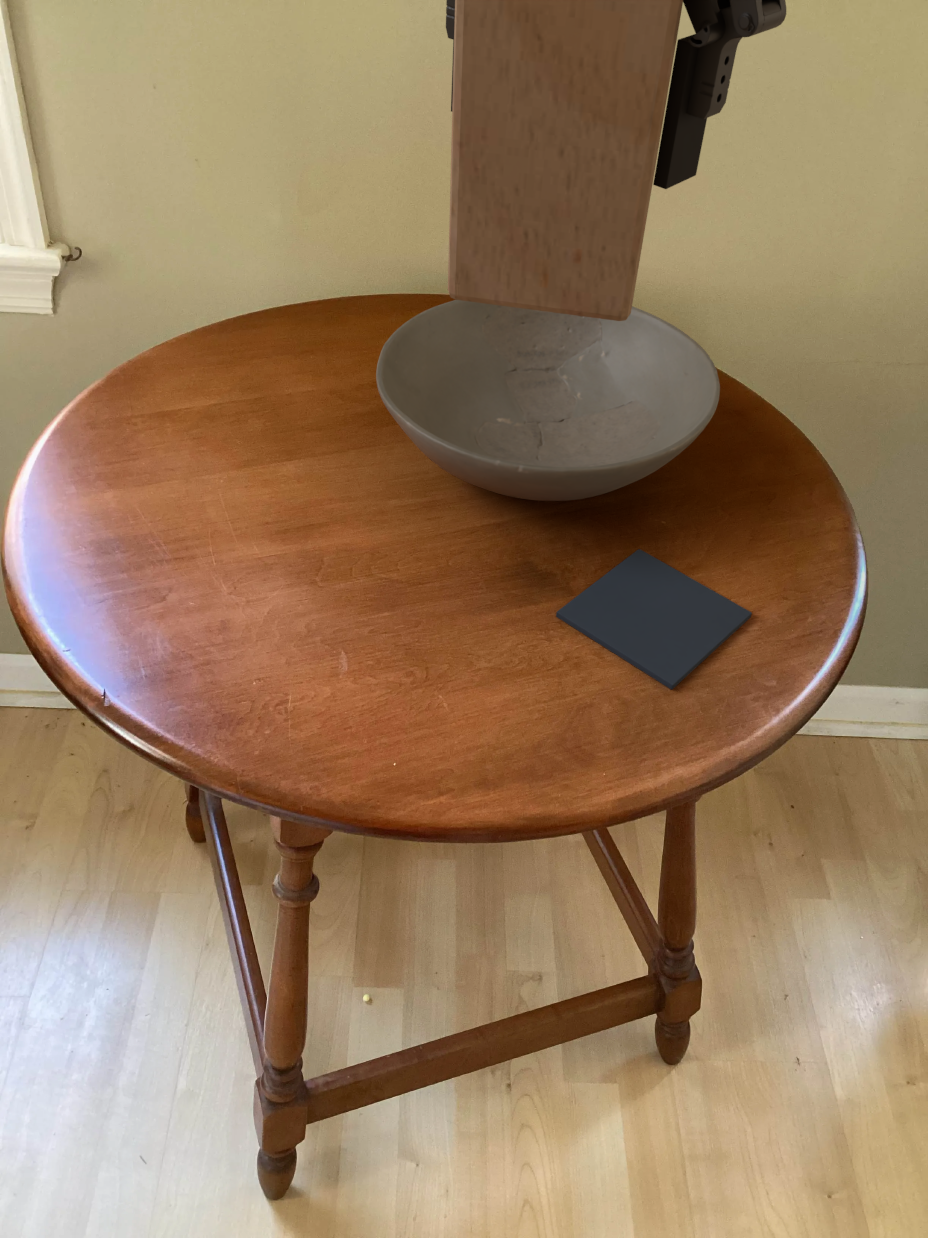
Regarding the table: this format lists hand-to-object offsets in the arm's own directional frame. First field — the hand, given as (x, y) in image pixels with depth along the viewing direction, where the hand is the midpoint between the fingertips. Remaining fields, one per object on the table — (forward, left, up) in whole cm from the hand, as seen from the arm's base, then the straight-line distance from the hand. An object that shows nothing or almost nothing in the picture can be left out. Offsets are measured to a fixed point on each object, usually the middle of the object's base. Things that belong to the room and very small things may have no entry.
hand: (567, 142), depth 55 cm
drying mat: (-9, -4, -31) cm, 33 cm away
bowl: (+10, -14, -31) cm, 36 cm away
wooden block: (0, +1, -7) cm, 7 cm away
